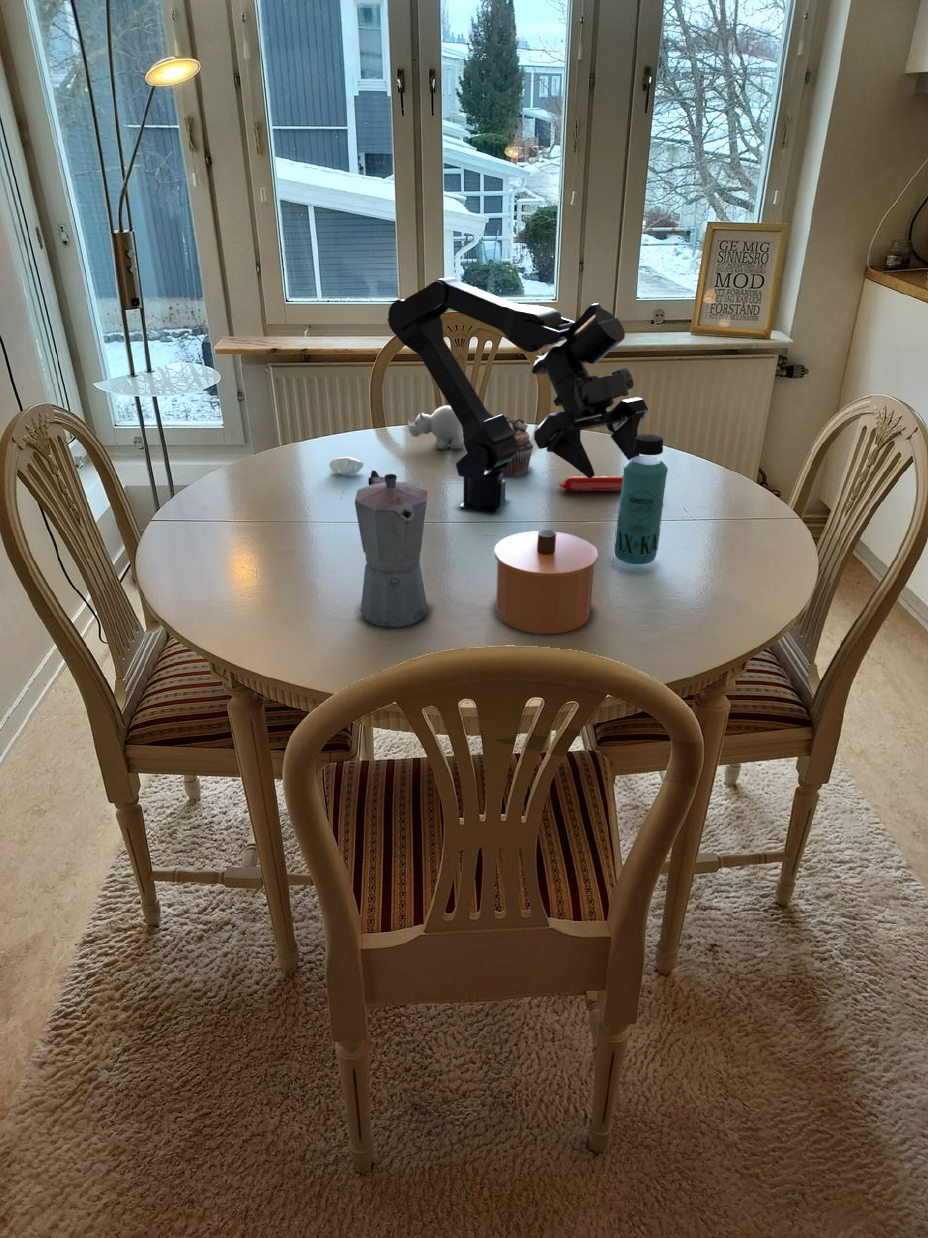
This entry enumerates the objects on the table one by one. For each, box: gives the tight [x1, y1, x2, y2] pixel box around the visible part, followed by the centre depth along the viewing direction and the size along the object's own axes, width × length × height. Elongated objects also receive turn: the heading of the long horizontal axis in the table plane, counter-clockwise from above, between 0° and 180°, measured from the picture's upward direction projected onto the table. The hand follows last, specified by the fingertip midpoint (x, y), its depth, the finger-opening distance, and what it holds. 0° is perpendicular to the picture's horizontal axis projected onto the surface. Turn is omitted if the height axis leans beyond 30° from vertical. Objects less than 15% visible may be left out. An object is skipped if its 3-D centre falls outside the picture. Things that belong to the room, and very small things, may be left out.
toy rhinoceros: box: [407, 405, 464, 450], centre depth 180 cm, size 7×12×8 cm, turn 89°
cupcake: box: [501, 416, 534, 477], centre depth 167 cm, size 10×10×10 cm
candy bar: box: [558, 475, 623, 492], centre depth 158 cm, size 16×4×3 cm, turn 92°
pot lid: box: [494, 529, 599, 577], centre depth 113 cm, size 14×14×4 cm
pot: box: [495, 560, 595, 635], centre depth 115 cm, size 13×13×8 cm
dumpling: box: [328, 456, 365, 477], centre depth 166 cm, size 7×5×4 cm
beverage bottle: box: [613, 433, 669, 565], centre depth 126 cm, size 6×7×20 cm
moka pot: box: [354, 469, 428, 628], centre depth 112 cm, size 10×15×20 cm, turn 27°
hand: (615, 471), depth 129 cm, fingers open, 9 cm apart
